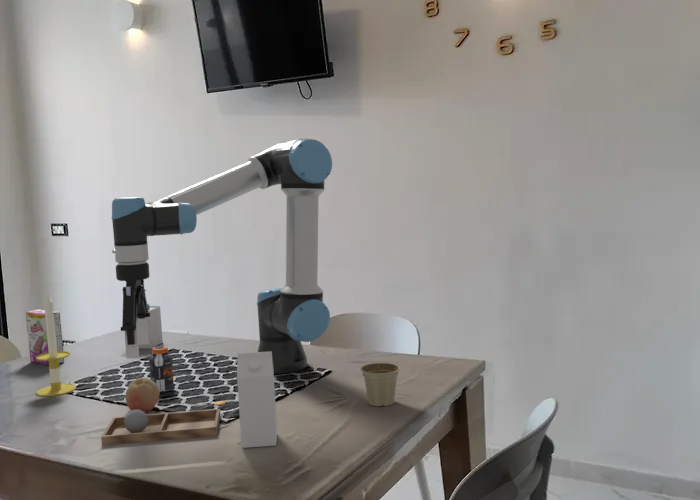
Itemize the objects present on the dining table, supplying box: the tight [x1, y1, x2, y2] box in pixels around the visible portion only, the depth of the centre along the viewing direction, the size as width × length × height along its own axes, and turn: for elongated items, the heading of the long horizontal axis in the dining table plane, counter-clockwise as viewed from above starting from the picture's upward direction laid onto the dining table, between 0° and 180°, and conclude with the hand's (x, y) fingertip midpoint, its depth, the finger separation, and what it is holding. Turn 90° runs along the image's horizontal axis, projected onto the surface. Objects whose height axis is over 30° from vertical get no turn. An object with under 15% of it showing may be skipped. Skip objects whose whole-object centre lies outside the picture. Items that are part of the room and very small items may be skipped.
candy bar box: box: [25, 308, 65, 366], centre depth 221 cm, size 11×5×16 cm, turn 58°
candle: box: [36, 292, 77, 398], centre depth 189 cm, size 10×10×27 cm
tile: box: [194, 400, 227, 407], centre depth 172 cm, size 10×7×1 cm
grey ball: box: [124, 410, 148, 433], centre depth 154 cm, size 5×5×5 cm
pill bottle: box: [148, 345, 175, 393], centre depth 187 cm, size 6×6×11 cm
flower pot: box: [360, 362, 401, 407], centre depth 168 cm, size 9×9×9 cm
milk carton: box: [236, 351, 278, 449], centre depth 146 cm, size 7×7×19 cm
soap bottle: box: [138, 289, 163, 350], centre depth 238 cm, size 9×9×19 cm
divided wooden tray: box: [100, 408, 221, 446], centre depth 155 cm, size 24×12×2 cm, turn 97°
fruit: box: [125, 377, 161, 413], centre depth 169 cm, size 8×8×8 cm
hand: (138, 350), depth 168 cm, fingers open, 13 cm apart
